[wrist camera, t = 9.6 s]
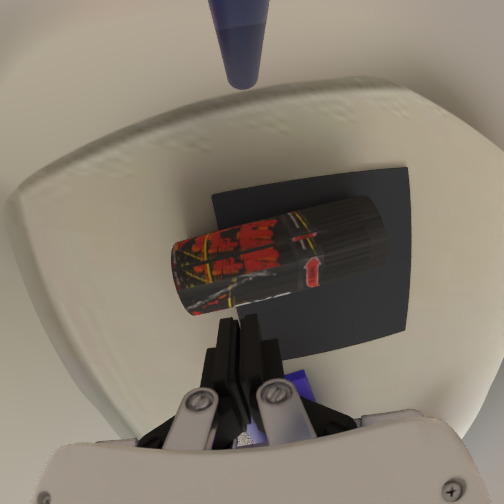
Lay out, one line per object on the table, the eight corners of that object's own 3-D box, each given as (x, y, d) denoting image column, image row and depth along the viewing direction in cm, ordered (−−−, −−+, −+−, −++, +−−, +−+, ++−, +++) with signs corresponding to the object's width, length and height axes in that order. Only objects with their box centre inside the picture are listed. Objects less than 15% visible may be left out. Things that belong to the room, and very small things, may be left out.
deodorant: (185, 237, 24) (350, 195, 23) (204, 299, 25) (363, 259, 24) (163, 249, 18) (378, 194, 17) (190, 328, 19) (391, 276, 18)
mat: (211, 194, 23) (211, 195, 22) (405, 167, 22) (408, 167, 22) (250, 363, 28) (250, 365, 28) (403, 328, 28) (405, 330, 27)
